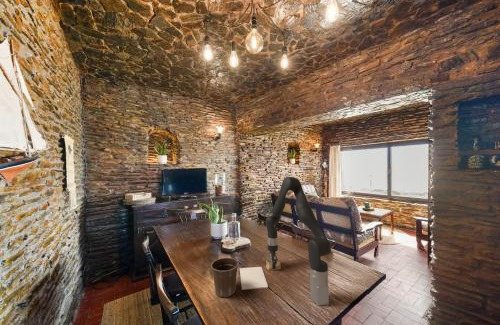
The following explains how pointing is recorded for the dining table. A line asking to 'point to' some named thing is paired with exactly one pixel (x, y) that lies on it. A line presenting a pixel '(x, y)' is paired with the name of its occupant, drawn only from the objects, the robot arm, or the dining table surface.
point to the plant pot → (224, 276)
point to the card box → (269, 265)
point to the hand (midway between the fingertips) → (273, 266)
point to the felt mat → (252, 278)
